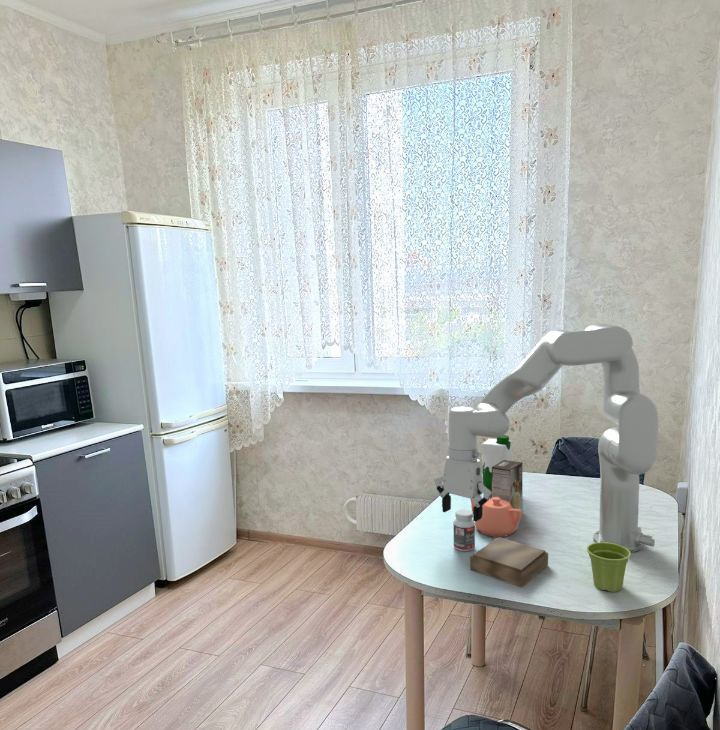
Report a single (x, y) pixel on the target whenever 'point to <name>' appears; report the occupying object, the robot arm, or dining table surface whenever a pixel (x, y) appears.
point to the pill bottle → (464, 530)
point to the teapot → (498, 518)
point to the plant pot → (608, 565)
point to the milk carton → (494, 456)
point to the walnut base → (509, 561)
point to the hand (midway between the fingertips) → (461, 515)
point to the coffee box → (508, 483)
